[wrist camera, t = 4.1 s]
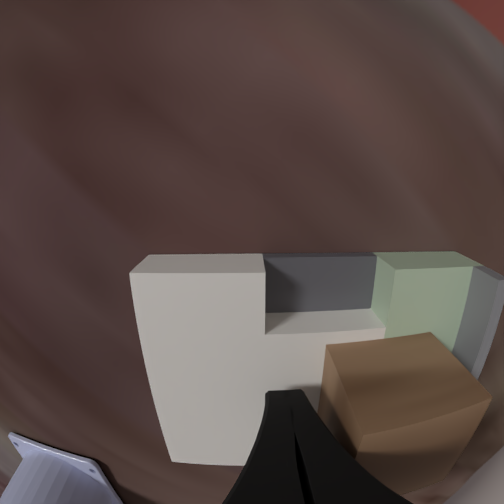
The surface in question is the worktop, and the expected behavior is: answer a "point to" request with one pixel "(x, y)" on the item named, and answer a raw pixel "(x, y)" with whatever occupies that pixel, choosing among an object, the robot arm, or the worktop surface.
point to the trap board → (288, 329)
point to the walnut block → (401, 407)
